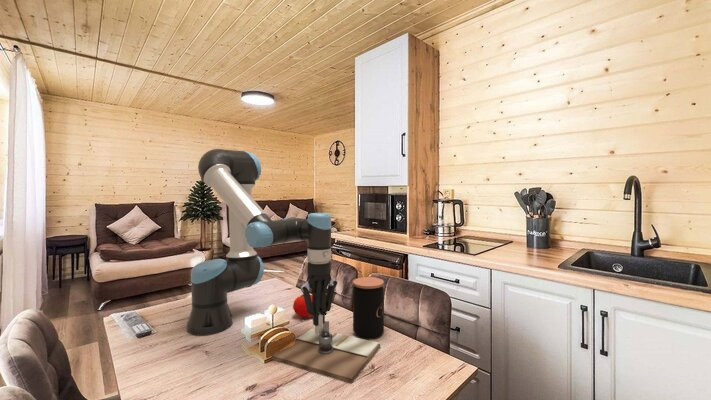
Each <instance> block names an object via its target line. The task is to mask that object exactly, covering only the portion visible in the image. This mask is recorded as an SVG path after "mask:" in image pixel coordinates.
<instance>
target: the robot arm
mask: <svg viewBox="0 0 711 400" xmlns="http://www.w3.org/2000/svg"><path fill="white" fill-rule="evenodd" d="M197 169H198V174H199V177H200V178H201V180H202V181H203V183H204V184H205V185H206V186H207V187H209V188H212V189H213V190H214V192H215V193H216V194H217V195H218V196H219V197H220V198H221V200H222V201H223V202H224V203H225V204H226V205H227V207H228V226H229V252H228V253H226V255H225V259H224V258H223V259H222V258H215V259H207V260H204V261H201V262H199V263H197V264H195V265H194V266H193V268H192V269H191V273H190V275H191V276H190V283H191V284H190V285H191V287H190V288H191V310H190V314H189V316H188V321H187V322H186V331H187V333H188V334H190V335H194V336H209V335H214V334H218V333H220V332H223V331H225V330H227V329H229V328H231V326H233V322H234V319H233V314H232V312H231V309H230V306H229V304H228V293H232V292H236V291H239V290H242V289H245V288H246V289H247V288H251V287H252V286H255V285H257V284H258V283H259V282H260V281H261V280H262V278H263V276H264V271H265V266H264V262H263V260H262V258H261V257H260V256H259V255H258V252H257V251H256V250H255V249H254V248H266V247H270V246H276V245H280V244H286V243H290V242H297V241H298V242H306V243H307V254H306V257H307V261H308V262H307V271H306V272H307V278H306V280H305V281H306V282H304V284H301V285H300V286H299V289H300V291H301V292H302V295H303V296H304V300H305V304H306V309H307V313H309V314H310V315H312V316H311V317H312V325H313V326H314V328H315V334H316V335H318V336H319V335H320V334H322V332H323V324H324V323H325V321H326V316H327V314H328V313H327V312H331V308H332V304H333V299H334V295H335V289H336V287H337V285H338V281H337V280H335V279H332V275H331V273H332V263H331V261H332V244H331V243H332V217H331V215H330V214H329V213H326V212H313V213H312V212H311V213H309V214H307V218H305V217H304V218H303V217H295V216H294V217H293V216H291V217H290V216H289V217H284V218H283V219H275V220H273V219H272V218H271V217H270V216H269V215H268V214H267V213H266V212H265V211H264V210H263V208H262V207H261V206H260V205H259V204H258V202H257V201H256V200H254V198H253V196H252V195H253V194H252V189H253V188H254V187H255V186H256V181H258V179H259V178H260V175H261V173H262V166H261V161H260V160H259V158H258V157H257V156H256V154H254V153H252V152H248V151H245V150H235V149H234V150H232V149H223V148H213V149H210V150H208V151H206V152H205V153H203V154H202V156H201V158H200V159H199V161H198V167H197ZM310 289H311V292H310ZM310 295H312V301H311V296H310Z"/></svg>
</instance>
